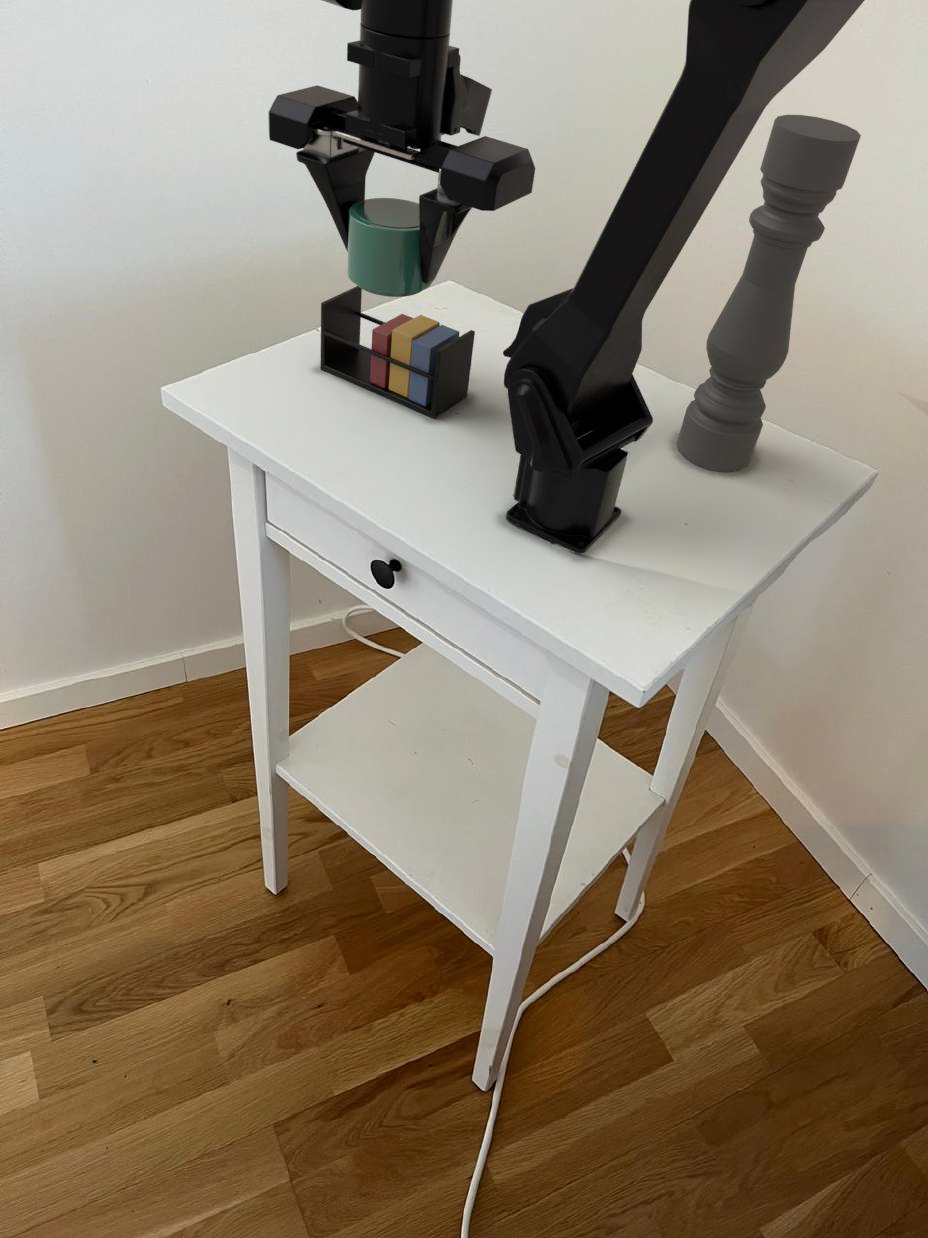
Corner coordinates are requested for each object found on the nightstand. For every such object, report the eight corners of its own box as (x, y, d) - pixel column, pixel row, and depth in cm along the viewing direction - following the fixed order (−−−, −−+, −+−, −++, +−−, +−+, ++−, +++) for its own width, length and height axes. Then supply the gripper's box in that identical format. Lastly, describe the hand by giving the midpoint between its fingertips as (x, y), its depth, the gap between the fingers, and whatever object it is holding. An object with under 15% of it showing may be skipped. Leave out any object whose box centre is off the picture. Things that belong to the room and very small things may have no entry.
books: (453, 388, 84) (460, 329, 80) (425, 406, 81) (431, 345, 77) (398, 365, 86) (402, 306, 82) (369, 382, 83) (372, 322, 79)
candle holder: (673, 461, 79) (770, 130, 63) (679, 425, 84) (771, 107, 67) (749, 478, 79) (867, 148, 62) (751, 440, 83) (862, 124, 67)
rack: (467, 396, 84) (475, 330, 80) (433, 419, 80) (440, 351, 76) (356, 349, 88) (358, 284, 84) (319, 369, 85) (320, 302, 81)
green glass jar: (448, 282, 74) (455, 214, 71) (400, 308, 70) (405, 237, 67) (380, 256, 76) (383, 190, 73) (329, 280, 72) (330, 211, 69)
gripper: (591, 44, 64) (552, 275, 75) (363, -14, 71) (355, 206, 81) (506, 68, 57) (476, 321, 67) (259, 1, 63) (266, 242, 74)
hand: (391, 267), depth 73 cm, fingers closed on green glass jar, 6 cm apart
